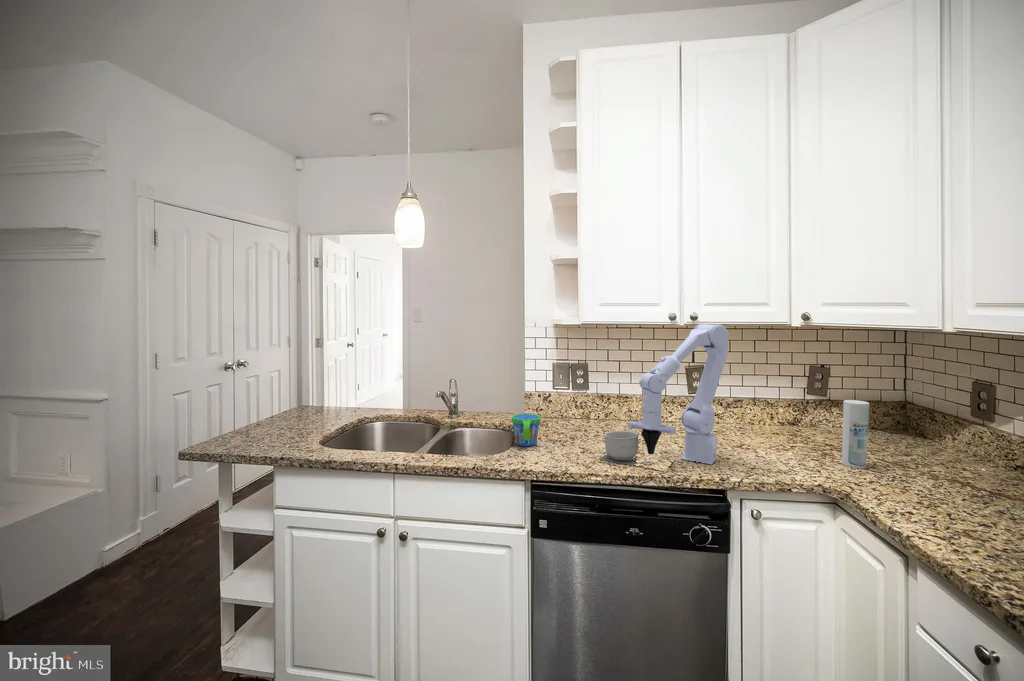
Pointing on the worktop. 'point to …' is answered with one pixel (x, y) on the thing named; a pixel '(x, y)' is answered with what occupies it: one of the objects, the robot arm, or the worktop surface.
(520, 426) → the snack cup
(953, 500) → the worktop surface
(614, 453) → the teacup
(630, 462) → the label mat
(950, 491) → the worktop surface
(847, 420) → the spray can
